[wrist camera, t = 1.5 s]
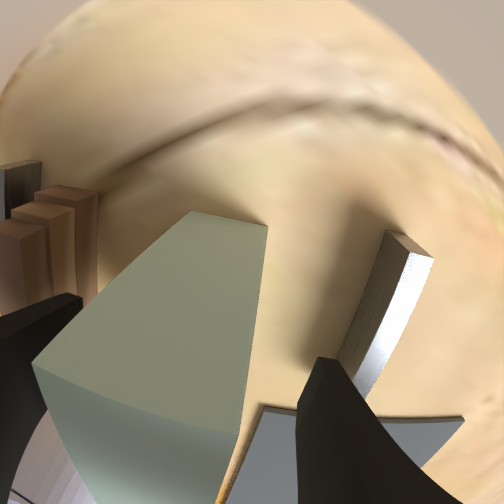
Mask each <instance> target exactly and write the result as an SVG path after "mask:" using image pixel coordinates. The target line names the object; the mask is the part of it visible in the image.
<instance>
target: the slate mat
mask: <svg viewBox="0 0 504 504" xmlns="http://www.w3.org/2000/svg"><path fill="white" fill-rule="evenodd" d="M296 414H297V411H292V410H285V409H279V408H272V407H266V406H264V409H263V412H262V414H261V417H260V419H259V422H258V425H257V427H256V430H255V432H254V435H253V437H252V440H251V442H250V445H249V447H248V450H247V452H246V454H245V457H244V459H243V462H242V464H241V466H240V469H239V471H238V473H237V476H236V478H235V480H234V483H233V485H232V487H231V490H230V492H229V494H228V496H227V499H226V501H225V503H224V504H298V484H297V462H296V440H295V427H296ZM377 419H378V420H379V421H380V423H381V424H382V425H383V427H384V428H385V429H386V430H387V432H388V433H389V434H390V435H391V437H392V438H393V439H394V441H395V442H396V443H397V444H398V445H399V446H400V448H401V449H402V450H403V451H404V452H405V453H406V454H407V455H408V456H409V457H410V458H411V460H412V461H413V462H414V463H415V464H416V465H417V466H418V467H419V468H421V467H422V466H423V465H424V464H425V463H426V462H427V461H428V460H429V459H430V458H431V457H432V456H433V455H434V454H435V453H436V452H437V451H438V450H439V449H440V448H441V447H442V446H443V445H444V444H445V443H446V442H447V441H448V440H449V439H450V437H451V436H452V435H453V434H454V433H455V432H456V431H457V430H458V428H459V427H460V426H461V425H462V424H463V423H464V421H465V420H464V418H463V417H455V418H434V419H382V418H377Z"/></svg>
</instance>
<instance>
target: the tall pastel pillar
mask: <svg viewBox="0 0 504 504" xmlns="http://www.w3.org/2000/svg"><path fill="white" fill-rule="evenodd" d="M267 233H268V227H267V226H263V225H258V224H253V223H249V222H244V221H240V220H235V219H230V218H226V217H221V216H216V215H212V214H207V213H202V212H197V211H192V210H191V211H190V212H189V213H187V214H186V215H185V216H184V217H183V218H181V219H180V220H179V221H178V222H177V223H176V224H174V225H173V226H172V227H171V228H170V229H169V230H167V231H166V232H165V233H164V234H163V235H162V236H161V237H159V238H158V239H157V240H156V241H155V242H154V243H153V244H151V245H150V246H149V247H148V248H147V249H146V250H145V251H144V252H143V253H141V254H140V255H139V256H138V257H137V258H136V259H135V260H134V261H133V262H132V263H130V264H129V265H128V266H127V267H126V268H125V269H124V270H123V271H122V272H121V273H120V274H119V275H117V276H116V277H115V278H114V279H113V280H112V281H111V282H110V283H109V284H108V285H107V286H106V287H105V288H104V289H103V290H102V291H101V292H100V293H99V294H98V295H96V296H95V297H94V298H93V299H92V300H91V301H90V302H89V303H88V304H87V305H86V306H85V307H84V308H83V309H82V310H81V311H80V312H79V313H78V314H77V315H76V316H75V317H74V318H73V319H72V320H71V321H70V322H69V323H68V324H67V325H66V326H65V327H64V328H63V329H62V330H61V332H60V333H59V334H58V335H57V336H56V337H55V338H54V339H53V340H52V341H51V342H50V343H49V344H48V345H47V346H46V347H45V348H44V349H43V351H42V352H41V353H40V354H39V355H38V356H37V357H36V358H35V359H34V360H33V361H32V367H33V370H34V373H35V376H36V379H37V382H38V385H39V387H40V390H41V393H42V396H43V398H44V401H45V403H46V406H47V408H48V411H49V413H50V416H51V418H52V420H53V423H54V425H55V427H56V429H57V432H58V434H59V436H60V438H61V440H62V442H63V444H64V446H65V448H66V450H67V452H68V454H69V456H70V458H71V460H72V462H73V464H74V466H75V468H76V470H77V471H78V473H79V475H80V477H81V478H82V480H83V482H84V484H85V485H86V487H87V489H88V490H89V492H90V493H91V495H92V497H93V498H94V500H95V501H96V503H97V504H215V501H216V499H217V496H218V493H219V490H220V488H221V485H222V482H223V479H224V476H225V474H226V471H227V468H228V465H229V462H230V459H231V457H232V454H233V451H234V448H235V445H236V442H237V439H238V436H239V431H240V424H241V418H242V411H243V404H244V398H245V391H246V384H247V377H248V370H249V364H250V357H251V350H252V343H253V336H254V328H255V321H256V314H257V307H258V300H259V292H260V285H261V278H262V270H263V263H264V255H265V248H266V240H267Z"/></svg>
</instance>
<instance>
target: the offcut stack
mask: <svg viewBox="0 0 504 504" xmlns="http://www.w3.org/2000/svg"><path fill="white" fill-rule="evenodd" d="M98 200H99V192H94V191H89V190H83V189H78V188H72V187H66V186H60V185H57V186H54V187H50V188H47V189H44V190H41V191H38V192H35V193H34V201H33V202H30V203H27V204H25V205H22V206H19V207H17V208H14V209H12V210H11V218H9V219H6V220H4V221H2V222H0V314H1V316H4V315H6V314H9V313H12V312H14V311H17V310H19V309H22V308H25V307H27V306H30V305H32V304H35V303H37V302H40V301H43V300H45V299H48V298H51V297H53V296H56V295H59V294H63V293H66V292H69V293H71V294H74V295H77V296H80V297H82V298H83V308H84V307H85V306H86V305H87V304H88V303H89V302H90V301H91V300H92V299H93V298H94V297H95V296H96V295H98V287H97V220H98Z"/></svg>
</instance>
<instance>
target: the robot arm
mask: <svg viewBox="0 0 504 504" xmlns="http://www.w3.org/2000/svg"><path fill="white" fill-rule="evenodd" d="M82 309H83V298H82V297H80V296H77V295H74V294H71V293H69V292H66V293H63V294H59V295H56V296H53V297H51V298H48V299H45V300H43V301H40V302H37V303H35V304H32V305H30V306H27V307H25V308H22V309H19V310H17V311H14V312H12V313H9V314H6V315H4V316H1V317H0V504H97V503H96V501H95V500H94V498H93V497H92V495H91V493H90V492H89V490H88V489H87V487H86V485H85V484H84V482H83V480H82V478H81V477H80V475H79V473H78V471H77V470H76V468H75V466H74V464H73V462H72V460H71V458H70V456H69V454H68V452H67V450H66V448H65V446H64V444H63V442H62V440H61V438H60V436H59V434H58V432H57V429H56V427H55V425H54V423H53V420H52V418H51V416H50V413H49V411H48V408H47V406H46V403H45V401H44V398H43V396H42V393H41V390H40V387H39V385H38V382H37V379H36V376H35V373H34V370H33V367H32V361H33V360H34V359H35V358H36V357H37V356H38V355H39V354H40V353H41V352H42V351H43V349H44V348H45V347H46V346H47V345H48V344H49V343H50V342H51V341H52V340H53V339H54V338H55V337H56V336H57V335H58V334H59V333H60V332H61V330H62V329H63V328H64V327H65V326H66V325H67V324H68V323H69V322H70V321H71V320H72V319H73V318H74V317H75V316H76V315H77V314H78V313H79V312H80V311H81V310H82ZM295 440H296V462H297V484H298V504H463V503H461V502H460V501H458V500H457V499H456V498H454V497H453V496H452V495H450V494H449V493H448V492H446V491H445V490H444V489H443V488H441V487H440V486H439V485H438V484H437V483H436V482H434V481H433V480H432V479H431V478H430V477H429V476H428V475H426V474H425V473H424V472H423V471H422V470H421V469H420V468H419V467H418V466H417V465H416V464H415V463H414V462H413V461H412V460H411V458H410V457H409V456H408V455H407V454H406V453H405V452H404V451H403V450H402V449H401V448H400V446H399V445H398V444H397V443H396V442H395V441H394V439H393V438H392V437H391V435H390V434H389V433H388V432H387V430H386V429H385V428H384V427H383V425H382V424H381V423H380V421H379V420H378V419H377V417H376V416H375V414H374V413H373V412H372V410H371V409H370V407H369V406H368V404H367V403H366V402H365V400H364V399H363V397H362V396H361V394H360V393H359V391H358V390H357V388H356V386H355V385H354V383H353V382H352V380H351V379H350V377H349V376H348V374H347V373H346V371H345V369H344V368H343V366H342V365H341V363H340V362H339V361H338V360H336V359H329V358H323V357H318V358H317V360H316V363H315V365H314V367H313V370H312V372H311V374H310V376H309V379H308V381H307V383H306V385H305V387H304V390H303V392H302V394H301V396H300V398H299V400H298V402H297V414H296V427H295Z"/></svg>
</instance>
